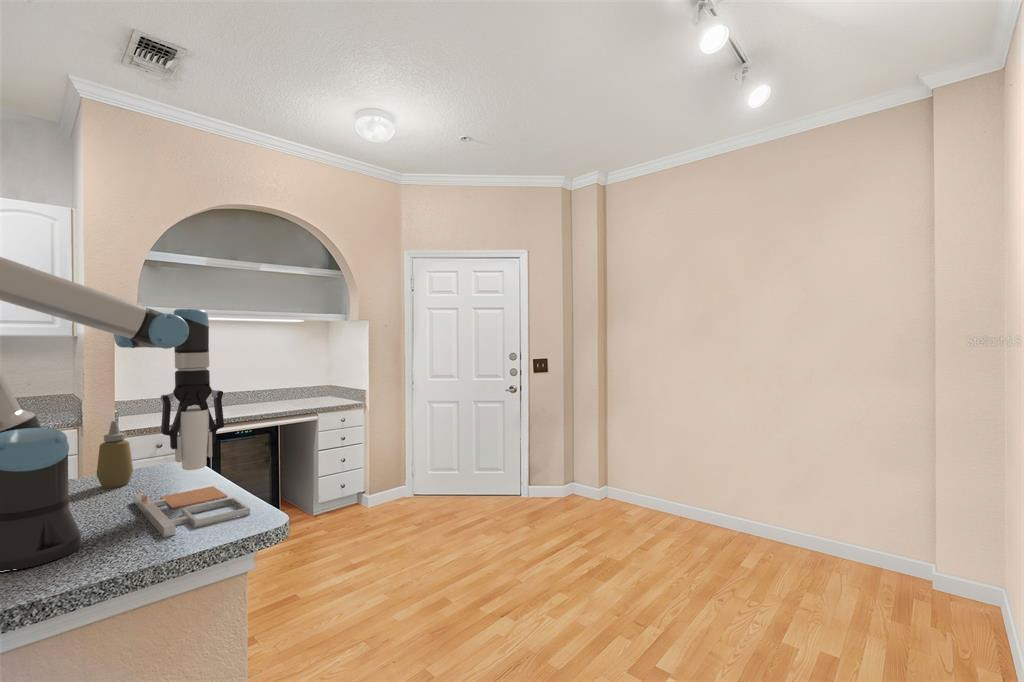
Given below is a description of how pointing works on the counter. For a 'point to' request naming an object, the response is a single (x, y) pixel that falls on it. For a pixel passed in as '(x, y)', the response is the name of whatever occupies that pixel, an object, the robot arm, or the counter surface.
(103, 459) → the squeeze bottle
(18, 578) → the counter surface
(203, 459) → the drinking glass
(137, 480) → the counter surface
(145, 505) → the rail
